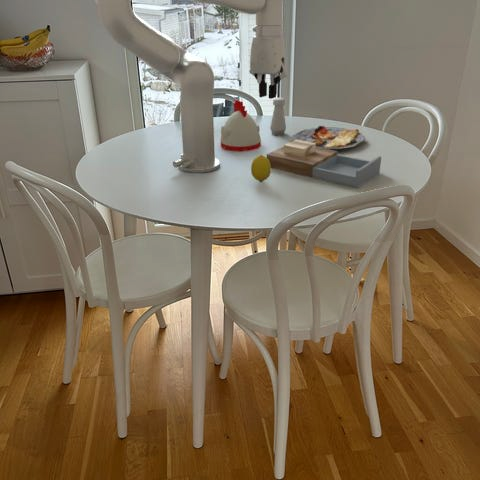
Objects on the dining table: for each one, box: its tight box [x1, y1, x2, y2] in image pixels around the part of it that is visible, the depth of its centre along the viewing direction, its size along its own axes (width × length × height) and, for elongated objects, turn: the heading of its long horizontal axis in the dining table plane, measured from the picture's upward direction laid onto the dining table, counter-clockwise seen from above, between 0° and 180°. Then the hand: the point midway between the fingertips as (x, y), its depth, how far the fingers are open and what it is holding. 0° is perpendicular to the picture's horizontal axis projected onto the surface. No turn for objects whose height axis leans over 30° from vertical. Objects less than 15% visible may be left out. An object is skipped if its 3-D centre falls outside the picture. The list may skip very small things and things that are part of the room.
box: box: [312, 153, 382, 189], centre depth 144 cm, size 15×14×5 cm
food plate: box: [292, 125, 366, 151], centre depth 174 cm, size 25×23×4 cm
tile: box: [283, 140, 316, 157], centre depth 151 cm, size 7×7×2 cm
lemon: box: [250, 154, 272, 183], centre depth 139 cm, size 6×6×8 cm
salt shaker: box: [270, 97, 287, 136], centre depth 181 cm, size 6×6×13 cm
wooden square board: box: [266, 146, 338, 179], centre depth 152 cm, size 15×16×4 cm
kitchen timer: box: [220, 99, 262, 152], centre depth 169 cm, size 14×14×15 cm
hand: (267, 96), depth 151 cm, fingers open, 2 cm apart
